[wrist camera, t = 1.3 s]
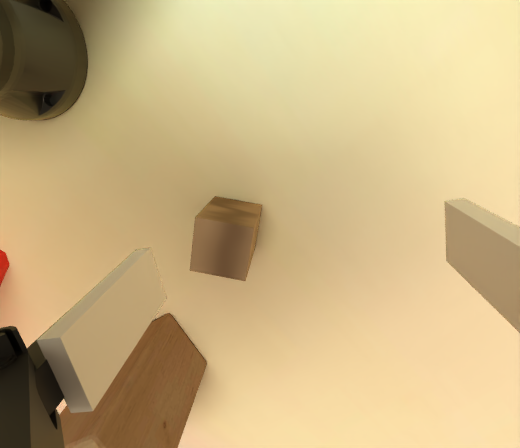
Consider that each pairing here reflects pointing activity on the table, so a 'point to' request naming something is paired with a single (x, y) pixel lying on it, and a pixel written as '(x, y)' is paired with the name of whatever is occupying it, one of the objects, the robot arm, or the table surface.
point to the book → (3, 265)
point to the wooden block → (143, 395)
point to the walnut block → (225, 238)
